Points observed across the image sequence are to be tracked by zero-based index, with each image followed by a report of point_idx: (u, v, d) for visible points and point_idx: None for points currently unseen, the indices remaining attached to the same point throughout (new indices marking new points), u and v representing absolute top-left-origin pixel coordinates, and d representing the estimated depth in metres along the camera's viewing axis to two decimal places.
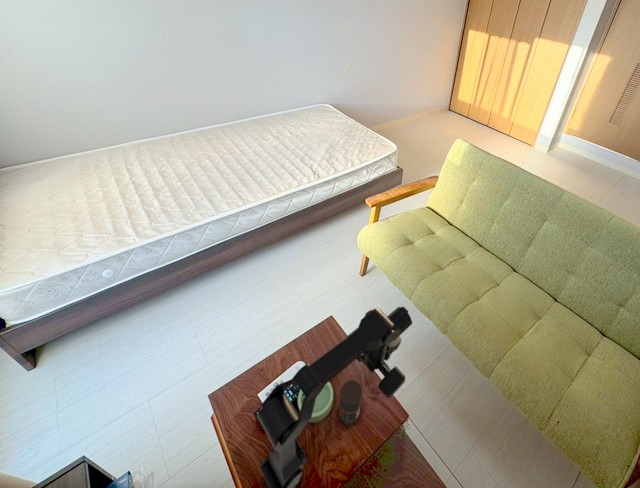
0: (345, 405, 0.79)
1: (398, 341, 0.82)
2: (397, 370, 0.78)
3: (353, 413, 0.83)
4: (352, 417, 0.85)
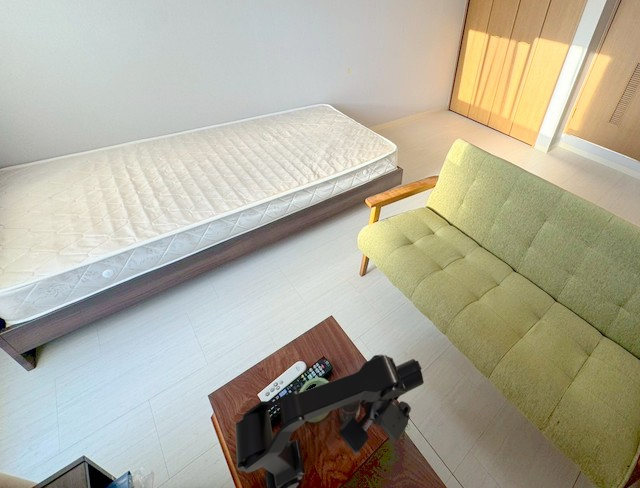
0: (345, 405, 0.79)
1: (393, 433, 0.68)
2: (363, 437, 0.68)
3: (353, 413, 0.83)
4: None
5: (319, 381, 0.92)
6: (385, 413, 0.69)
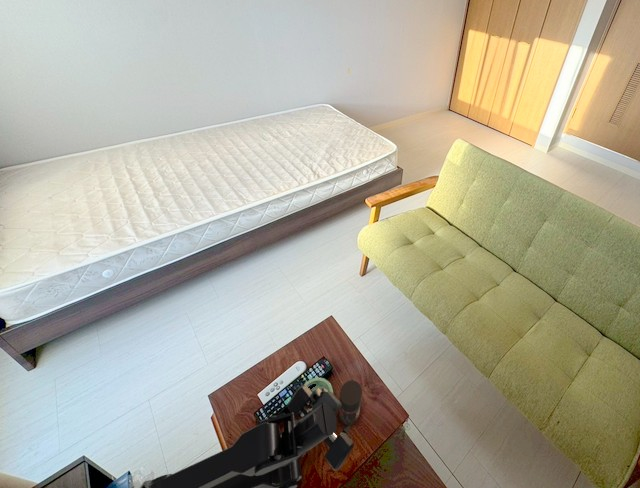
0: (345, 405, 0.79)
1: (333, 410, 0.69)
2: (339, 442, 0.68)
3: (353, 413, 0.83)
4: (352, 417, 0.85)
5: (319, 381, 0.92)
6: None
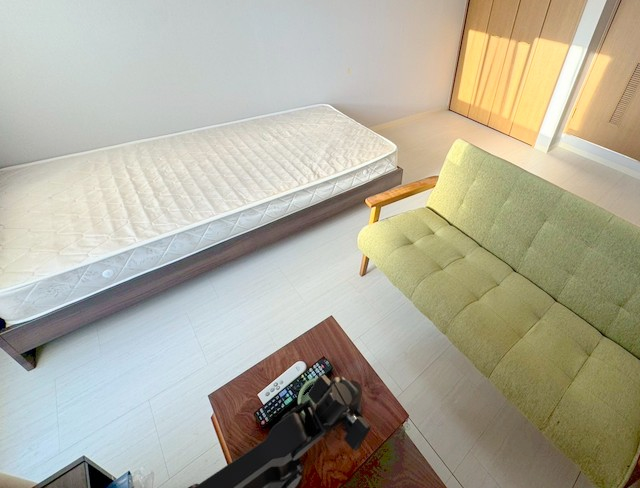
0: None
1: None
2: (357, 425, 0.75)
3: (353, 413, 0.83)
4: None
5: None
6: None
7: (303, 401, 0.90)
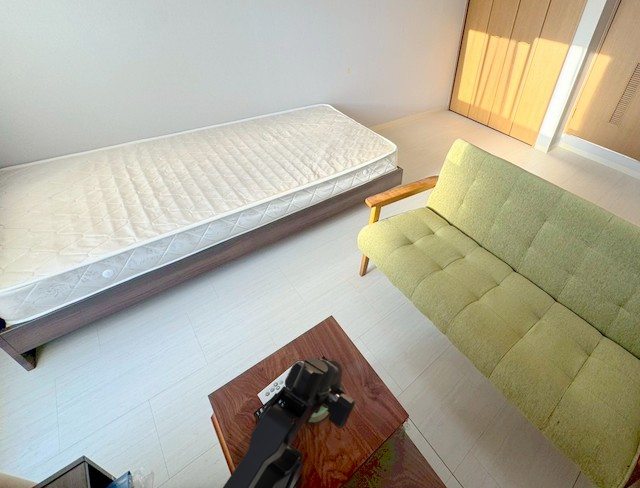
0: None
1: (331, 374, 0.74)
2: (341, 402, 0.73)
3: None
4: None
5: None
6: None
7: None
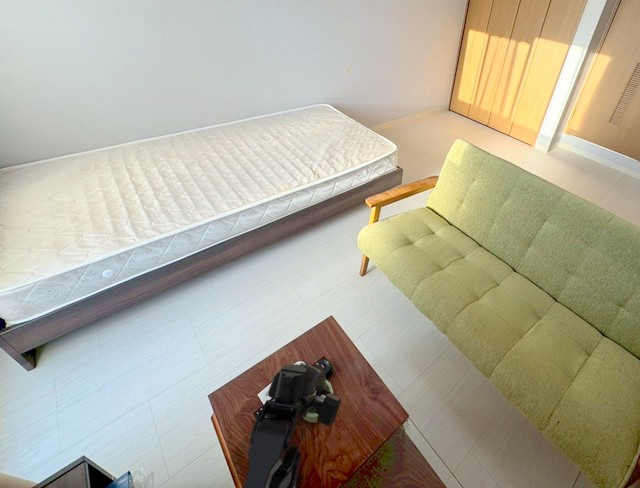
0: None
1: (315, 377, 0.75)
2: (327, 401, 0.75)
3: (320, 395, 0.83)
4: None
5: None
6: (303, 392, 0.74)
7: None
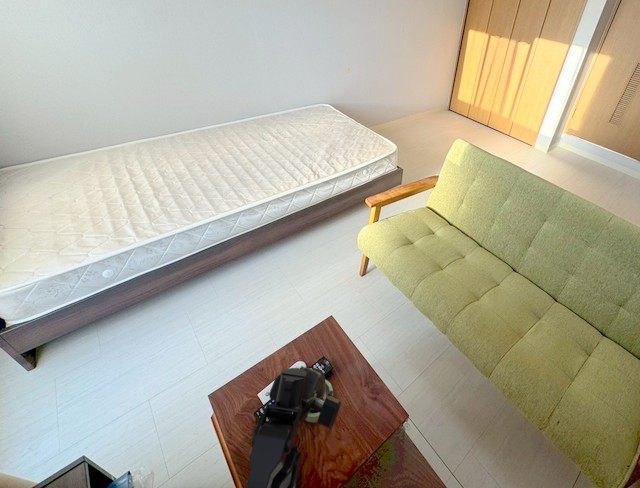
0: None
1: (315, 380, 0.76)
2: (328, 404, 0.77)
3: (320, 399, 0.84)
4: None
5: None
6: (304, 395, 0.75)
7: None
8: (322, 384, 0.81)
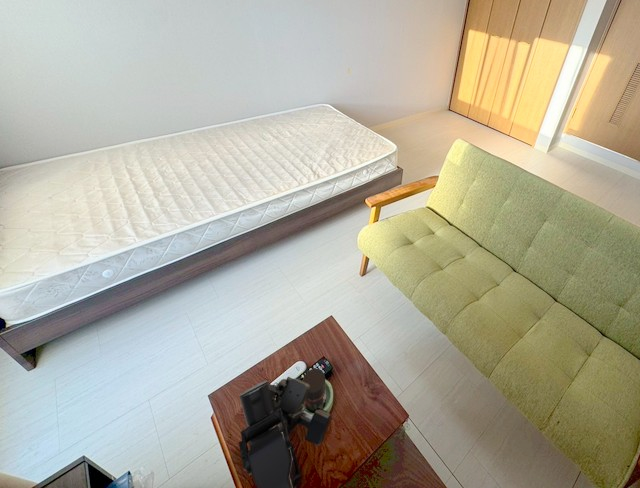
0: (311, 394, 0.80)
1: (303, 393, 0.69)
2: (316, 419, 0.70)
3: (320, 399, 0.84)
4: (320, 403, 0.86)
5: None
6: (290, 410, 0.68)
7: None
8: (322, 384, 0.81)
